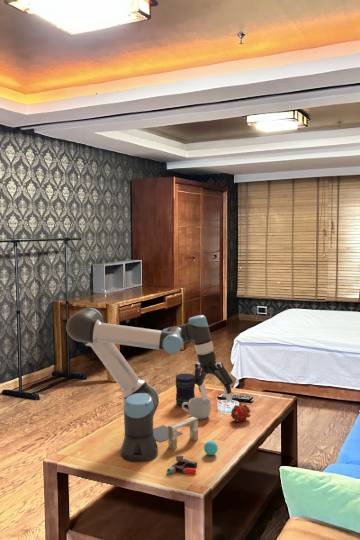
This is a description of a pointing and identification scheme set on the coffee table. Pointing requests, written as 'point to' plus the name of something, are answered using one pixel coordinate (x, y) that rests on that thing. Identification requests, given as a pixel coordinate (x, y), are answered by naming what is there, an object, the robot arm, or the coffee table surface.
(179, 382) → the storage jar
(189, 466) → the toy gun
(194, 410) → the teacup
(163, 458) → the coffee table surface
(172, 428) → the bridge
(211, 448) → the ball
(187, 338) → the robot arm
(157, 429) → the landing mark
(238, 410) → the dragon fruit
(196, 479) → the coffee table surface
